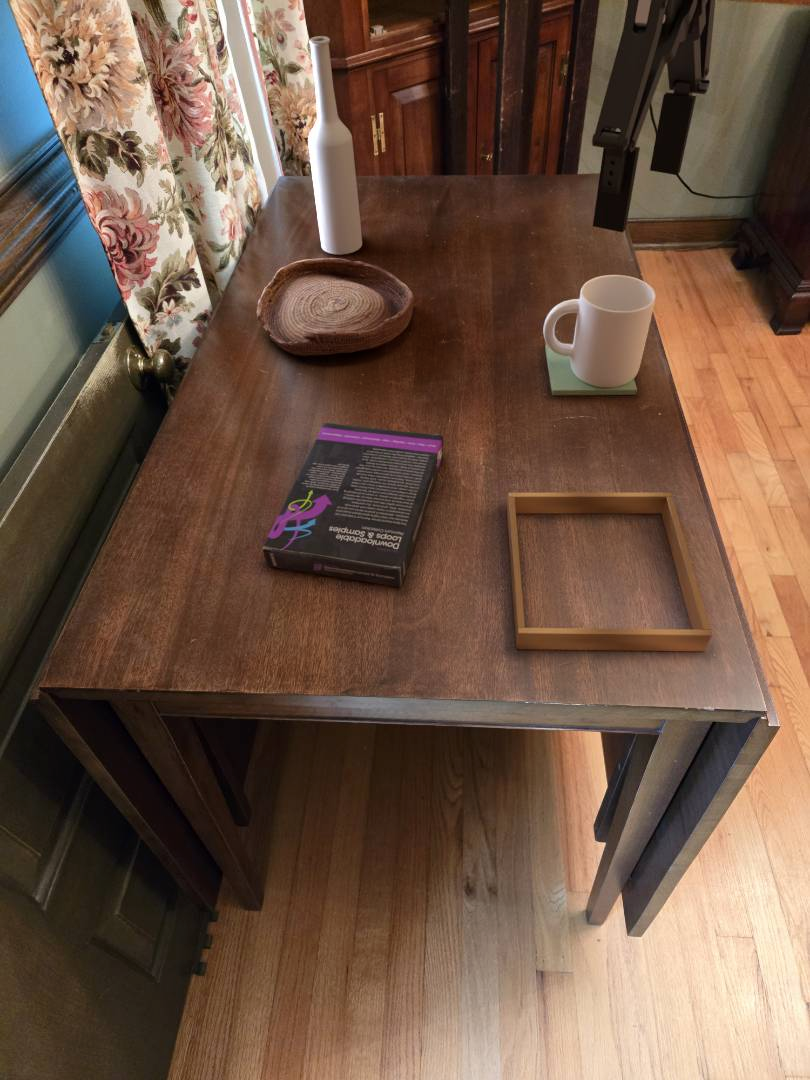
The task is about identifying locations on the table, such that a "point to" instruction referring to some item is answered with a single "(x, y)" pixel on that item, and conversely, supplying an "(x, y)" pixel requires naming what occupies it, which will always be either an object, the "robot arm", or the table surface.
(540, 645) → the square wooden frame
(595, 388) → the plate
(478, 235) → the table surface
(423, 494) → the box
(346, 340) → the basket
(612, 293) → the mug
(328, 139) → the bottle
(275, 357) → the table surface
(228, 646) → the table surface
